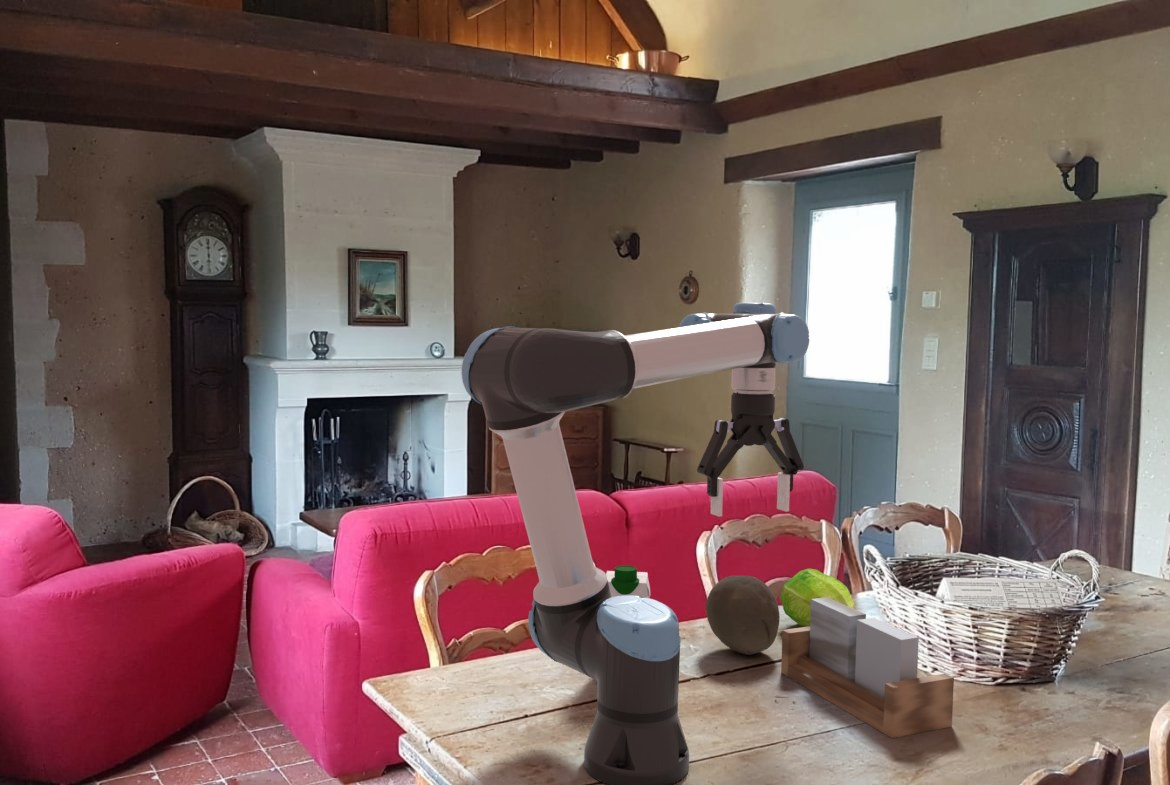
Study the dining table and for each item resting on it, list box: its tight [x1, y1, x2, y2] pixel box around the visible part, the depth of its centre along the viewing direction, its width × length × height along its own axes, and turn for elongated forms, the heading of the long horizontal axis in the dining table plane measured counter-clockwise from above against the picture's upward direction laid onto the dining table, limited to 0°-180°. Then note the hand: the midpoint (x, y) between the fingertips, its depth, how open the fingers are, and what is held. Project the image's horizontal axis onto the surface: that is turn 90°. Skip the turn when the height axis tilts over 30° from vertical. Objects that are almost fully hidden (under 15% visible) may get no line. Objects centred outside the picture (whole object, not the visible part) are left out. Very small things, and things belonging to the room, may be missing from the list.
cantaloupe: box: [705, 575, 780, 656], centre depth 188 cm, size 14×14×15 cm
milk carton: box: [605, 565, 651, 599], centre depth 176 cm, size 9×9×20 cm
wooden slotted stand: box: [780, 597, 955, 739], centre depth 166 cm, size 12×30×14 cm, turn 23°
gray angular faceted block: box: [855, 617, 919, 698], centre depth 161 cm, size 4×11×12 cm, turn 22°
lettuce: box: [779, 568, 856, 628], centre depth 201 cm, size 14×20×12 cm
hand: (750, 512), depth 171 cm, fingers open, 13 cm apart
